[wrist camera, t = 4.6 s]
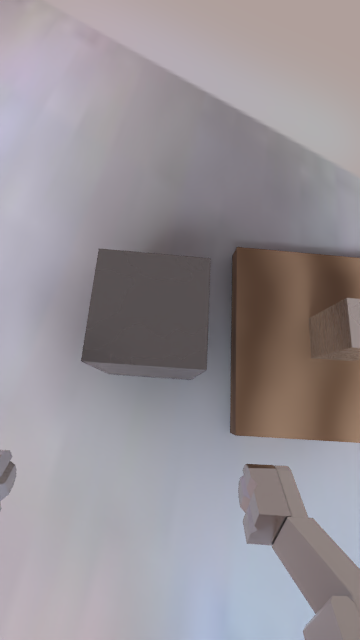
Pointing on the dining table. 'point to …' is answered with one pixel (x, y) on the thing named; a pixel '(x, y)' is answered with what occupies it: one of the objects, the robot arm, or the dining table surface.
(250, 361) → the base plate
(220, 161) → the dining table surface
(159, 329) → the grey square block
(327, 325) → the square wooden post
